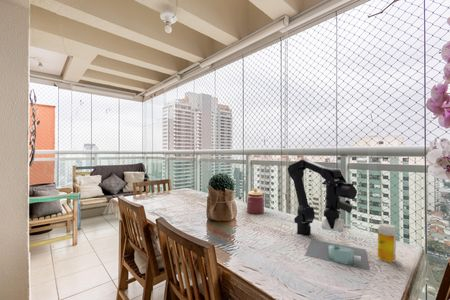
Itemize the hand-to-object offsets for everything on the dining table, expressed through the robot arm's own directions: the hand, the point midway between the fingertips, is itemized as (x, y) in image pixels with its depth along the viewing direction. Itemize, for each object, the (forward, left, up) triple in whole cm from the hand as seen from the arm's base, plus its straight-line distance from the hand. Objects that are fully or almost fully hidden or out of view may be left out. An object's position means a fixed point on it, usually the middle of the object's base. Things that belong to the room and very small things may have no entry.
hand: (332, 227), depth 106 cm
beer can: (+21, -2, -10) cm, 23 cm away
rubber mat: (+2, -6, -10) cm, 12 cm away
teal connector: (+5, -13, -9) cm, 17 cm away
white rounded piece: (+1, 0, -1) cm, 1 cm away
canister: (-54, +38, -10) cm, 67 cm away
